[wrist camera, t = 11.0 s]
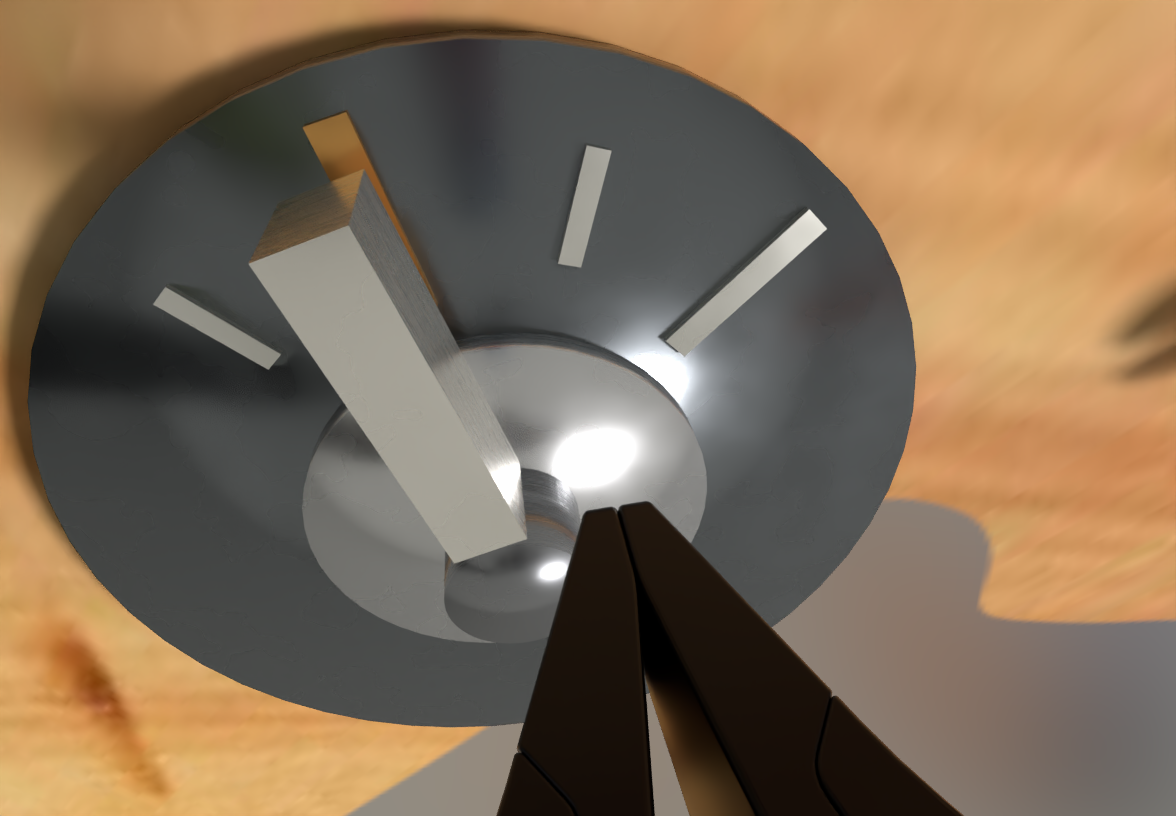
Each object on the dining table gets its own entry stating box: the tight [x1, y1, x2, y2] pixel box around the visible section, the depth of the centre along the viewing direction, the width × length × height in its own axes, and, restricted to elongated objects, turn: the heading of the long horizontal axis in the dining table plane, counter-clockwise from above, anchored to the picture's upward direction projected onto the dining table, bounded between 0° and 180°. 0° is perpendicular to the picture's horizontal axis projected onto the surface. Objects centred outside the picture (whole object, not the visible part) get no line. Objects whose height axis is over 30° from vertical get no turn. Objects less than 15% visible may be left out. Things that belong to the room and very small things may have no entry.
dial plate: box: [28, 30, 916, 727], centre depth 24 cm, size 26×26×1 cm
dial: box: [249, 169, 707, 643], centre depth 20 cm, size 17×12×4 cm
